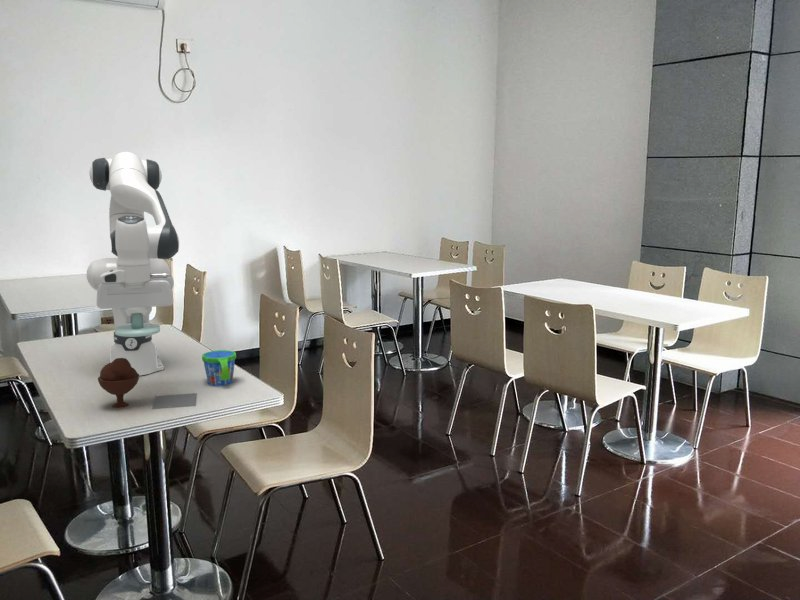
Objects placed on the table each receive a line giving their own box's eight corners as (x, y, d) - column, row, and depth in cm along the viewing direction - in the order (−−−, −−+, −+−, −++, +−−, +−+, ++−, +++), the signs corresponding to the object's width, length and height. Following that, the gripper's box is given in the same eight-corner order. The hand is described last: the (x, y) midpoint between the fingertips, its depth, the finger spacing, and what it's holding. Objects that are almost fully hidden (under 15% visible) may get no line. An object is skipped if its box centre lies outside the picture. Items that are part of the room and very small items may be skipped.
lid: (117, 328, 202) (116, 310, 201) (161, 326, 205) (160, 309, 204) (112, 337, 190) (111, 319, 190) (159, 335, 194) (158, 317, 193)
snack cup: (201, 379, 228) (199, 349, 227) (233, 376, 232) (232, 346, 230) (205, 393, 214) (204, 361, 212) (240, 389, 218) (239, 358, 216)
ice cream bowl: (145, 401, 206) (142, 352, 203) (132, 414, 195) (129, 362, 192) (109, 401, 206) (106, 352, 203) (94, 414, 195) (90, 362, 192)
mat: (155, 398, 209) (155, 395, 209) (197, 395, 212) (196, 393, 212) (152, 411, 197) (151, 408, 197) (196, 408, 200) (195, 405, 200)
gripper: (173, 271, 201) (175, 318, 203) (97, 273, 195) (100, 321, 198) (172, 274, 195) (175, 323, 197) (93, 277, 189) (97, 326, 192)
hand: (137, 322), depth 197 cm, fingers closed on lid, 3 cm apart
